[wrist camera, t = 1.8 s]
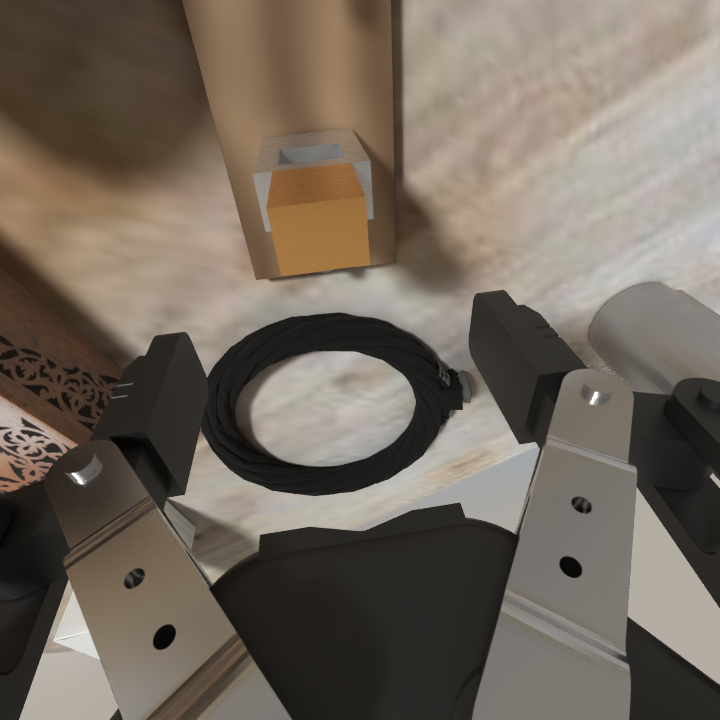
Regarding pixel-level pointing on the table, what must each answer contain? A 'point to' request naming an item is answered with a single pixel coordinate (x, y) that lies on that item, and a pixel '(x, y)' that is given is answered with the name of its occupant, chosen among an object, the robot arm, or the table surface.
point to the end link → (315, 199)
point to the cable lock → (329, 333)
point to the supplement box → (73, 622)
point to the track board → (298, 95)
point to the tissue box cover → (45, 386)
